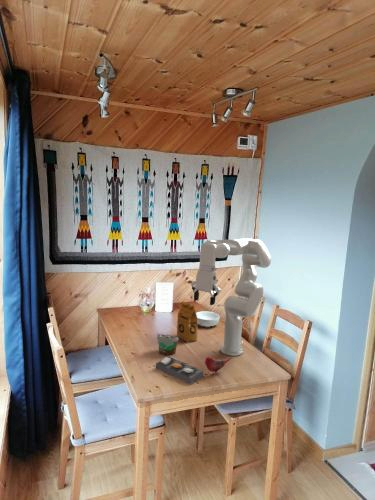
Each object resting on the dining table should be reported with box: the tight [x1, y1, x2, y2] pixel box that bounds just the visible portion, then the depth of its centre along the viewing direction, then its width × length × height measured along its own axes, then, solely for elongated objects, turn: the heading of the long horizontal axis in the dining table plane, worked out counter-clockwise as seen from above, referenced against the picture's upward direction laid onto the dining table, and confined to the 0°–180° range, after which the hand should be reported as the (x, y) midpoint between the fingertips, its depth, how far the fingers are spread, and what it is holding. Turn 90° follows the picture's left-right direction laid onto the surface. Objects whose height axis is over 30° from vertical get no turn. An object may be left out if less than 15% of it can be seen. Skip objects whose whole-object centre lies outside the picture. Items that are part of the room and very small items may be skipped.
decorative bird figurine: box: [203, 356, 232, 376], centre depth 182 cm, size 3×18×10 cm, turn 125°
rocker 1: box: [160, 356, 171, 365], centre depth 184 cm, size 4×3×1 cm
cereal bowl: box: [196, 310, 221, 328], centre depth 249 cm, size 17×17×7 cm
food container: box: [156, 332, 179, 357], centre depth 201 cm, size 12×6×10 cm, turn 68°
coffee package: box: [176, 301, 199, 343], centre depth 223 cm, size 10×12×22 cm
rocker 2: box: [183, 368, 194, 373], centre depth 175 cm, size 4×3×1 cm
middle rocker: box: [172, 363, 182, 368], centre depth 180 cm, size 4×3×1 cm
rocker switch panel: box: [155, 356, 204, 385], centre depth 181 cm, size 10×22×4 cm, turn 51°
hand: (204, 302), depth 184 cm, fingers open, 9 cm apart
